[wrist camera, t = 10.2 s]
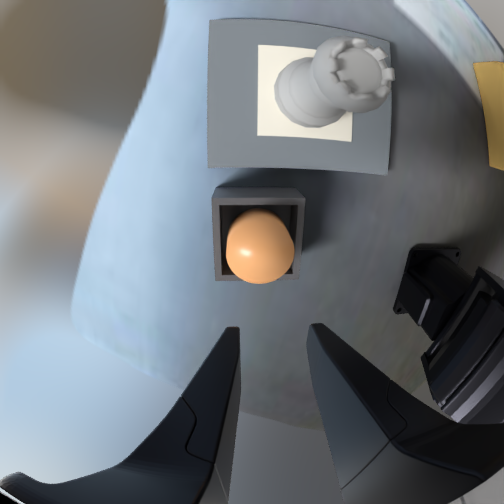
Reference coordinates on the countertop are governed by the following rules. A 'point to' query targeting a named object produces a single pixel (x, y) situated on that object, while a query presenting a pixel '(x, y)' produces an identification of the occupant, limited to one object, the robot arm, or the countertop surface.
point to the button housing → (245, 198)
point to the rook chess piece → (334, 82)
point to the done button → (259, 246)
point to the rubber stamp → (493, 107)
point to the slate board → (267, 111)
